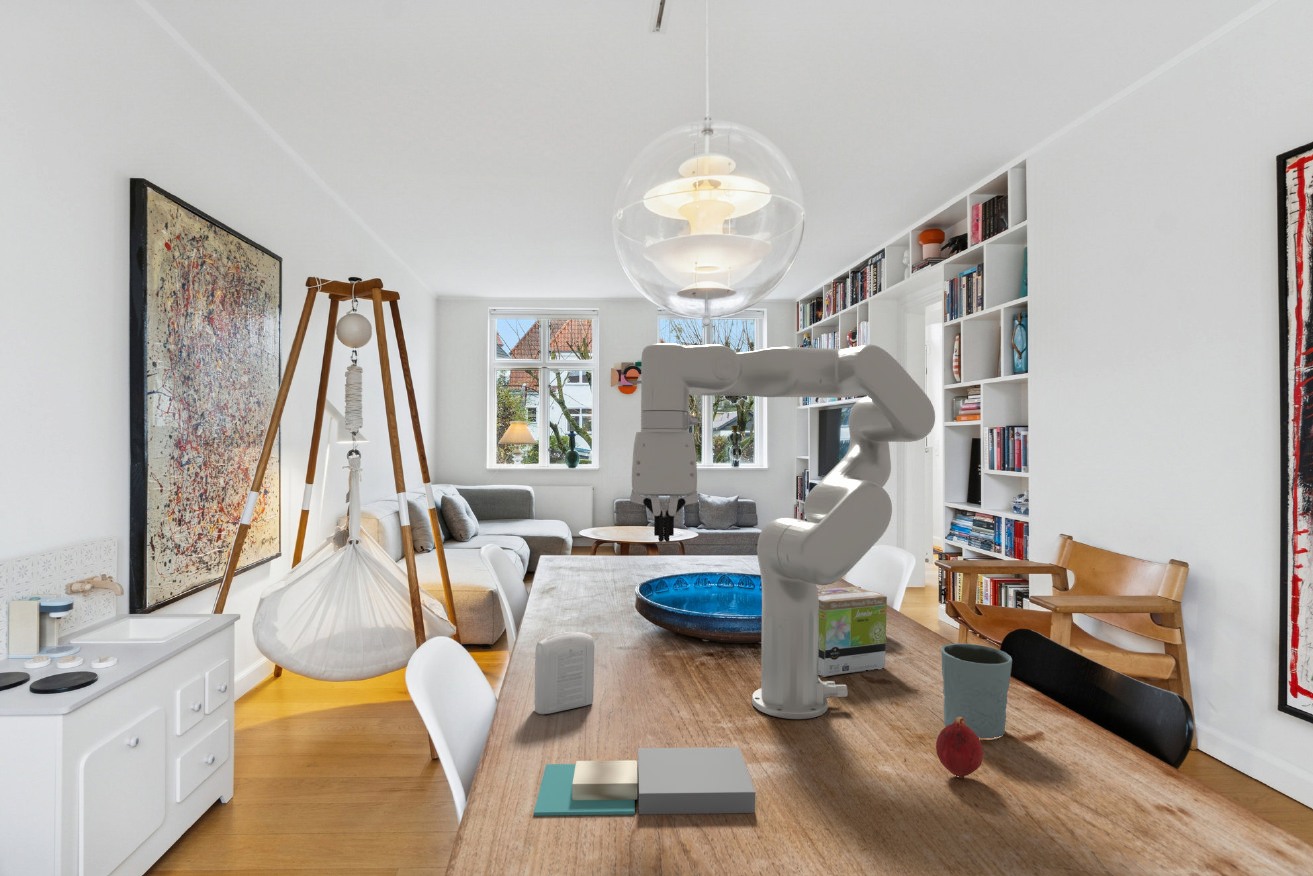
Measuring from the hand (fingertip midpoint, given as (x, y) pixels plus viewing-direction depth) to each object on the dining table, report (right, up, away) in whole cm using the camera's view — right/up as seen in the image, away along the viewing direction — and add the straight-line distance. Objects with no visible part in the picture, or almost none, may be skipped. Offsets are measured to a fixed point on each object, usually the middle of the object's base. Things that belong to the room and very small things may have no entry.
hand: (663, 540), depth 107 cm
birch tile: (-8, -29, -20) cm, 36 cm away
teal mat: (-10, -29, -19) cm, 36 cm away
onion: (+39, -30, -15) cm, 52 cm away
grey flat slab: (+4, -29, -19) cm, 35 cm away
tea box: (+36, -30, +29) cm, 55 cm away
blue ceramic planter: (+49, -30, 0) cm, 57 cm away
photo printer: (-17, -29, +7) cm, 34 cm away
